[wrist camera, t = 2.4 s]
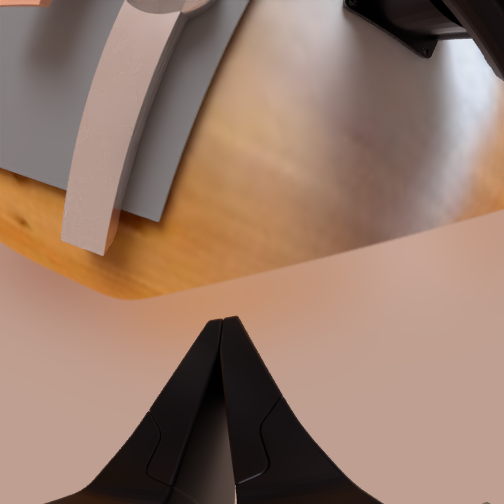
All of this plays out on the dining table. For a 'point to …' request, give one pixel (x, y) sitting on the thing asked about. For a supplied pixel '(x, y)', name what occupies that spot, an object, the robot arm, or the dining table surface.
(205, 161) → the dining table surface
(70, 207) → the lever
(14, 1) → the block
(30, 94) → the base plate
